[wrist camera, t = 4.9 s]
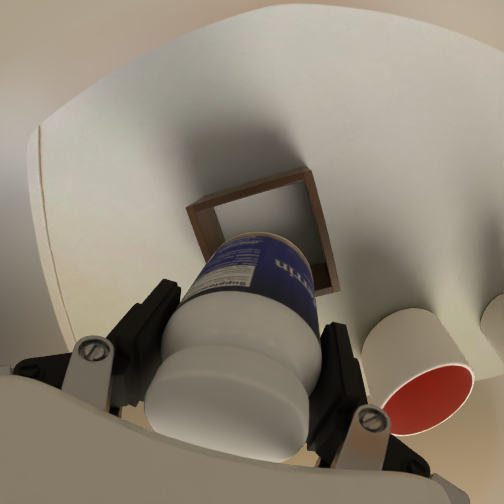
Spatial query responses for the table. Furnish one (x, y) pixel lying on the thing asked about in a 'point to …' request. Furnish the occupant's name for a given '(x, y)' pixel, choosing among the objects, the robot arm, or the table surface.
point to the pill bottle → (241, 353)
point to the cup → (415, 371)
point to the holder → (204, 210)
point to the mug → (494, 324)
